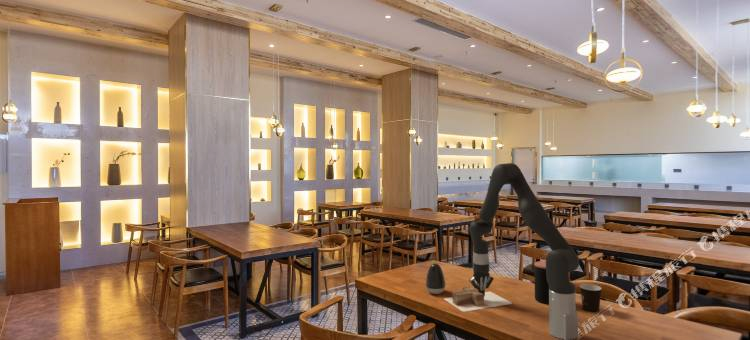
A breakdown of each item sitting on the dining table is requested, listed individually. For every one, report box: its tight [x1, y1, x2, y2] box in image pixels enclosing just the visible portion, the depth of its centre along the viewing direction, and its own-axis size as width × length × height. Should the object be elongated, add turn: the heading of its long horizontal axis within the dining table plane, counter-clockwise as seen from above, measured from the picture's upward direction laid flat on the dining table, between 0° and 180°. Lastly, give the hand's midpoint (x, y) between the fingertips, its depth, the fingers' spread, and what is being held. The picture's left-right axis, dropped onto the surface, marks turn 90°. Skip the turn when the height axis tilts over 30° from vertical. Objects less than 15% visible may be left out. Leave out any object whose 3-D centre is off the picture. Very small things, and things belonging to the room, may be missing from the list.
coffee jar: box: [533, 260, 549, 306], centre depth 186 cm, size 11×11×18 cm
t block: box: [452, 286, 484, 306], centre depth 186 cm, size 12×12×5 cm
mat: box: [443, 291, 514, 313], centre depth 187 cm, size 18×27×1 cm, turn 109°
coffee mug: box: [579, 283, 603, 313], centre depth 176 cm, size 12×9×10 cm
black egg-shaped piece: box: [425, 263, 446, 295], centre depth 201 cm, size 10×10×15 cm
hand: (481, 297), depth 188 cm, fingers closed
